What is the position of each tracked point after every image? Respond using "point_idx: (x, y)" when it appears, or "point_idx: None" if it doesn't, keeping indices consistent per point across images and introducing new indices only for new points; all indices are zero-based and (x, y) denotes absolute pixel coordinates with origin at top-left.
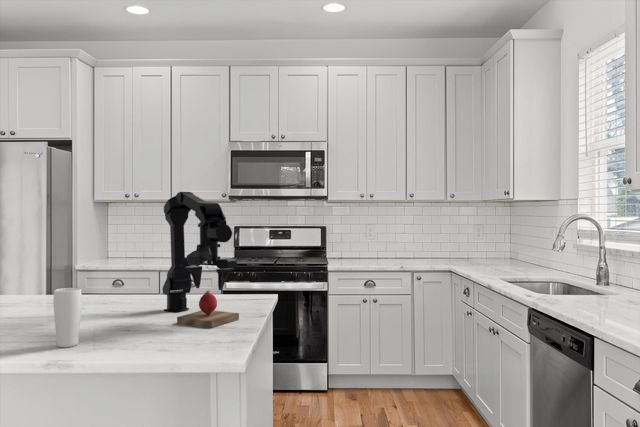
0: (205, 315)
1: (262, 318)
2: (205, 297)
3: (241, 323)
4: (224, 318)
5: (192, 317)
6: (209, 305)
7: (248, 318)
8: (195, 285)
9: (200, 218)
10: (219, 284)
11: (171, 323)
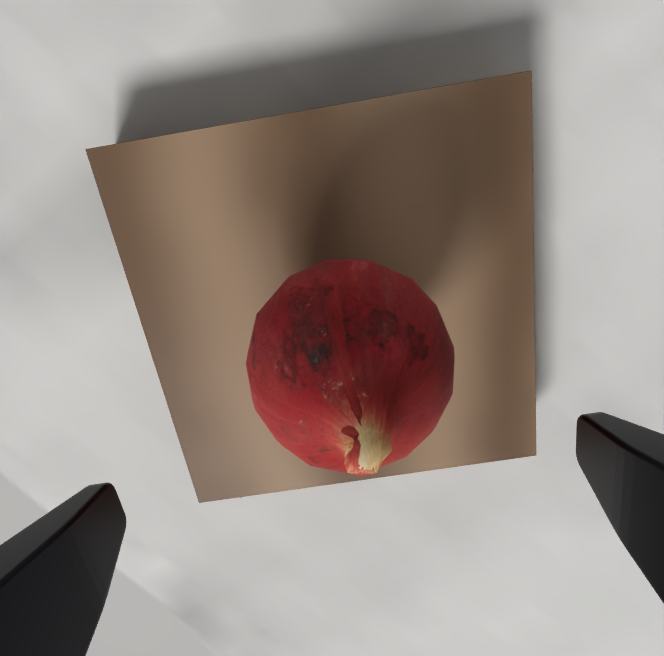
0: None
1: (130, 575)
2: (321, 333)
3: (100, 405)
4: (147, 328)
5: (378, 154)
6: (261, 309)
7: (200, 531)
8: (641, 427)
9: None
10: (15, 546)
11: (565, 59)
